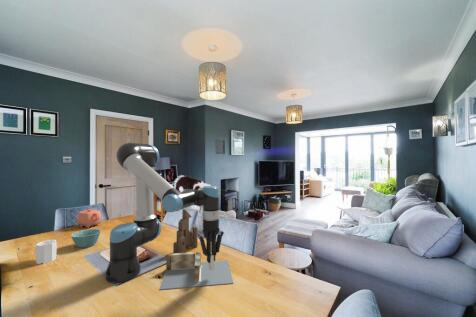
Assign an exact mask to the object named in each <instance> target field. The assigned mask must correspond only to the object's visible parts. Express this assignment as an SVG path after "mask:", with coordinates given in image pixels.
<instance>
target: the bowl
mask: <svg viewBox="0 0 476 317" xmlns="http://www.w3.org/2000/svg"><path fill="white" fill-rule="evenodd" d="M101 231H102V230H101V229H99V228H87V229H84V230H80V231H77V232H76V231H75V232H74V233H72V234H71V235H70V237H71V239H72V241H73V243H74V245H75V247H77V248H78V249H83V248H84V249H85V248H88V247H89V248H90V247H92V246H94V245H95V244H96V243H97V242H98V239H99V237H100V234H101Z"/></svg>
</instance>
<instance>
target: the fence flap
mask: <svg viewBox="0 0 476 317" xmlns="http://www.w3.org/2000/svg"><path fill="white" fill-rule="evenodd" d="M200 256H202V253H201V254H196V253H195V267H194V268H195V281H199V276H200Z"/></svg>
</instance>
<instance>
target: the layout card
mask: <svg viewBox="0 0 476 317" xmlns="http://www.w3.org/2000/svg"><path fill="white" fill-rule="evenodd" d="M231 284H234V280H233V276H232V271H231V267H230V262H229V260H228V259H225V260H215V261H214V269H213V270H210V269H209V266H208V262H207V261H201V267H200V276H199V281H195V268H181V269H171V270H166V269H165V272H164V276H163V278H162V281H161V284H160V287H159V291H162V290H163V291H164V290H165V291H166V290H173V289H174V290H175V289H187V288H196V287H198V288H199V287H209V286H211V287H212V286H219V285H231Z"/></svg>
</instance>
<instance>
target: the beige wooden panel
mask: <svg viewBox="0 0 476 317" xmlns="http://www.w3.org/2000/svg"><path fill="white" fill-rule="evenodd" d="M196 254H201V256H202V252H201V251H197V252H195V251H193V252H192V251H191V252H185V253H167V254H166V259H165V260H166V262H165V263H166V264H165V267H166V268H165V271H166V270H171V269H181V268H194V267H195V259H196ZM201 256H200V267H201V262H202V257H201Z"/></svg>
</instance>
